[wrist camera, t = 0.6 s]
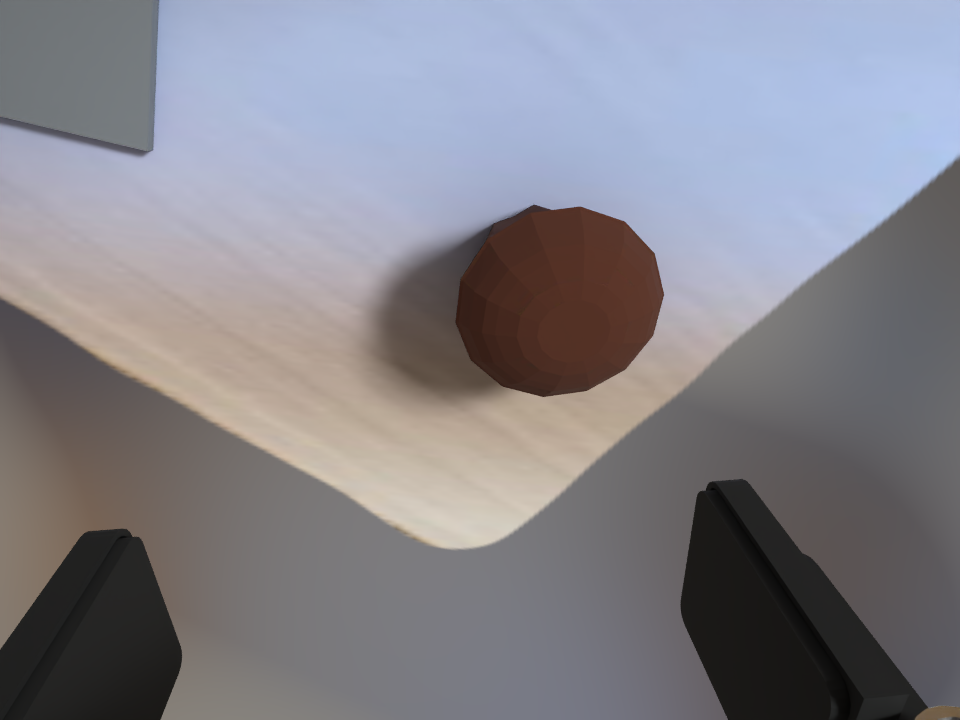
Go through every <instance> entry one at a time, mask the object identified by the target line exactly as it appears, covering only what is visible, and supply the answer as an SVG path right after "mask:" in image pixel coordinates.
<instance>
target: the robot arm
mask: <svg viewBox="0 0 960 720" xmlns="http://www.w3.org/2000/svg"><path fill="white" fill-rule="evenodd" d="M681 614H682V618H683V621H684V624H685V627H686V629H687V631H688V633H689V635H690V638H691V640H692V642H693V644H694V646H695V648H696V651H697V653H698V655H699V657H700V659H701V661H702V664H703V666H704V668H705V670H706V672H707V674H708V677H709V679H710V681H711V683H712V685H713V688H714V690H715V692H716V694H717V696H718V699H719V701H720V703H721V705H722V707H723V710H724V712H725V714H726V716H727V718H728V720H960V707H951V706H937V707H932V708H928V707H927V706H926V705H925V703H924V702H923V700H922V699H921V698H920V697H919V695H918V694H917V693H916V691H915V690H914V689H913V688H912V686H911V685H910V684H909V682H908V681H907V680H906V678H905V677H904V676H903V675H902V673H901V672H900V671H899V669H898V668H897V667H896V666H895V664H894V663H893V662H892V660H891V659H890V658H889V657H888V655H887V654H886V653H885V651H884V650H883V649H882V648H881V646H880V645H879V644H878V642H877V641H876V640H875V638H874V637H873V636H872V635H871V633H870V632H869V631H868V629H867V628H866V627H865V625H864V624H863V623H862V622H861V620H860V619H859V618H858V616H857V615H856V614H855V612H854V611H853V610H852V609H851V607H850V606H849V605H848V603H847V602H846V601H845V599H844V598H843V597H842V596H841V594H840V593H839V592H838V591H837V589H836V588H835V587H834V585H833V584H832V583H831V581H830V580H829V579H828V578H827V576H826V575H825V574H824V572H823V571H822V570H821V568H820V567H819V566H818V565H817V564H816V563H815V562H814V561H813V559H811V558H810V557H809V556H807V555H805V554H802V552H801V551H800V550H799V549H798V547H797V546H796V545H795V543H794V542H793V541H792V539H791V538H790V537H789V535H788V534H787V533H786V532H785V530H784V529H783V527H782V526H781V525H780V524H779V522H778V521H777V520H776V519H775V517H774V516H773V514H772V513H771V512H770V510H769V509H768V508H767V507H766V505H765V504H764V502H763V501H762V500H761V498H760V497H759V496H758V495H757V493H756V492H755V491H754V489H753V488H752V487H751V485H750V484H749V483H748V482H747V481H746V480H743V479H739V480H726V481H714V482H710V483H709V484H708V486H707V488H706V491H700V492H699V493H698V495H697V499H696V505H695V512H694V518H693V525H692V531H691V539H690V544H689V551H688V557H687V564H686V570H685V577H684V583H683V590H682V596H681ZM181 662H182V650H181V646H180V643H179V641H178V638H177V636H176V632H175V630H174V627H173V624H172V621H171V619H170V616H169V613H168V611H167V608H166V605H165V602H164V599H163V597H162V594H161V591H160V588H159V586H158V583H157V580H156V577H155V575H154V572H153V569H152V567H151V563H150V561H149V558H148V555H147V552H146V550H145V547H144V544H143V542H142V540H141V539H140V538H139V537H132V535H131V533H130V532H129V531H128V530H127V529H114V530H100V531H89V532H86V533H84V534H83V535H82V536H81V537H80V538H79V540H78V541H77V543H76V544H75V545H74V547H73V548H72V550H71V551H70V552H69V554H68V555H67V557H66V558H65V559H64V561H63V562H62V564H61V565H60V566H59V568H58V569H57V571H56V572H55V573H54V575H53V576H52V578H51V579H50V581H49V582H48V583H47V585H46V586H45V588H44V589H43V590H42V592H41V593H40V595H39V596H38V597H37V599H36V600H35V602H34V603H33V604H32V606H31V607H30V609H29V610H28V612H27V613H26V614H25V616H24V617H23V618H22V620H21V621H20V623H19V624H18V626H17V627H16V629H15V630H14V631H13V633H12V634H11V635H10V637H9V638H8V640H7V641H6V642H5V644H4V645H3V647H2V648H1V650H0V720H160V719H161V717H162V714H163V712H164V709H165V707H166V704H167V701H168V699H169V697H170V694H171V692H172V689H173V687H174V684H175V681H176V679H177V676H178V674H179V671H180V667H181Z"/></svg>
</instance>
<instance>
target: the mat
mask: <svg viewBox="0 0 960 720" xmlns="http://www.w3.org/2000/svg"><path fill="white" fill-rule="evenodd" d="M158 5H159V0H0V117H4V118H8V119H12V120H17V121H21V122H25V123H29V124H33V125H38V126H42V127H46V128H50V129H55V130H59V131H63V132H67V133H71V134H76V135H80V136H84V137H88V138H93V139H97V140H101V141H105V142H110V143H114V144H118V145H122V146H126V147H131V148H135V149H139V150H143V151H151V150H153V137H154V111H155V84H156V58H157V31H158Z"/></svg>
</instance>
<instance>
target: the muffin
mask: <svg viewBox="0 0 960 720" xmlns="http://www.w3.org/2000/svg"><path fill="white" fill-rule="evenodd" d="M663 297H664V292H663V288H662V284H661V279H660V275H659V271H658V266H657V262H656V258H655V254H654V252H653V251H652V250H651V249H650V248H649V247H648V246H647V245H646V244H645V243H644V242H643V241H642V240H641V238H640V237H639V236H638V235H637V234H636V233H635V232H634V231H633V230H632V229H631V228H630V227H629V226H628V224H627V223H626V222H624V221H621V220H618V219H615V218H612V217H609V216H606V215H604V214H601V213H598V212H595V211H592V210H589V209H586V208H583V207H574V208H566V209H558V210H550V209H547V208H543V207H540V206H537V205H533V206H531V207H529V208H528V209H526V210H524V211H523V212H521V213H519V214H517V215H516V216H513V217H511V218H508V219H505V220H502V221H499V222H497V223H494V225H493V227H492V229H491V231H490V233H489V235H488V238H487V240H486V242H485V243H484V245H483V246H482V248H481V249H480V251H479V252H478V254H477V255H476V257H475V258H474V259H473V261H472V263H471V264H470V266H469V267H468V269H467V270H466V272H465V273H464V275H463V276H462V278H461V281H460V289H459V298H458V306H457V314H456V325H457V327H458V329H459V332H460V334H461V337H462V339H463V342H464V344H465V347H466V349H467V352H468V354H469V357H470V359H471V361H473V362H474V363H475V364H476V365H477V366H479V367H480V368H481V369H482V370H483V371H485V372H486V373H487V374H488V375H489V376H491V377H492V378H493V379H494V380H495V381H497V382H498V383H499V384H500V385H501V386H503V387H507V388H511V389H515V390H518V391H522V392H526V393H530V394H534V395H538V396H542V397H546V396H553V395H561V394H568V393H575V392H583V391H587V390H589V389H591V388H593V387H595V386H596V385H598V384H600V383H602V382H604V381H605V380H607V379H609V378H611V377H613V376H614V375H616V374H618V373H620V372H622V371H624V370H625V369H626V368H627V367H628V366H629V364H630V363H631V362H632V361H633V360H634V358H635V357H636V356H637V355H638V353H639V352H640V351H641V350H642V349H643V347H644V346H645V345H646V344H647V342H648V341H649V340H650V339H651V338H652V336H653V334H654V330H655V326H656V323H657V319H658V315H659V312H660V308H661V304H662V300H663Z"/></svg>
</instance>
